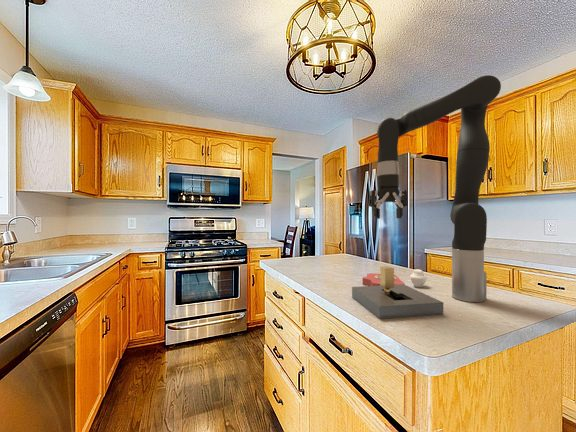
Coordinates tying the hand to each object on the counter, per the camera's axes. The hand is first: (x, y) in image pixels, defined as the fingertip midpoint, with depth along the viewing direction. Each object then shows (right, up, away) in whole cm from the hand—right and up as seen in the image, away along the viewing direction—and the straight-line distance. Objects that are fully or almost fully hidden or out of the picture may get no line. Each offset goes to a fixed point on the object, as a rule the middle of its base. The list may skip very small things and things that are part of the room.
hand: (388, 218), depth 99 cm
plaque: (+2, -29, +12) cm, 31 cm away
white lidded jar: (+16, -28, +10) cm, 34 cm away
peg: (-3, -28, -8) cm, 29 cm away
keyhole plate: (-3, -28, -12) cm, 31 cm away
